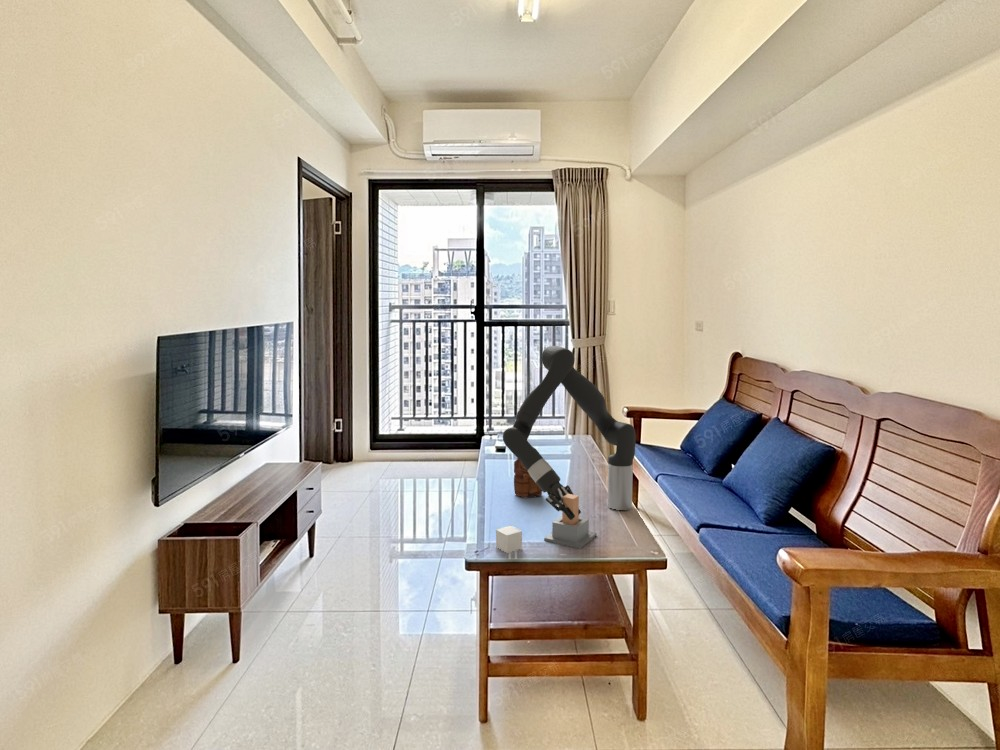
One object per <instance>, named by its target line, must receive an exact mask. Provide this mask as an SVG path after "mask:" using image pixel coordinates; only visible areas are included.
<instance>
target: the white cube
mask: <svg viewBox="0 0 1000 750" xmlns="http://www.w3.org/2000/svg"><path fill="white" fill-rule="evenodd" d="M496 547H497V549H498V548H499V549H498V550H500V549H501V550H500V551H501V552H503V551H504V552H503V553H505V552H506V553H505V554H509V553H508V552H510V553H512V552H511V551H514V552H516V551H515V550H517V551H519V550H518V549H520V550H522V549H523V531H522V530H521V529H519V528H517V527H514V526H513V525H509V526H505V527H501V528H500V527H499V528H498V529H495V548H496ZM521 548H522V549H521Z"/></svg>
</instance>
